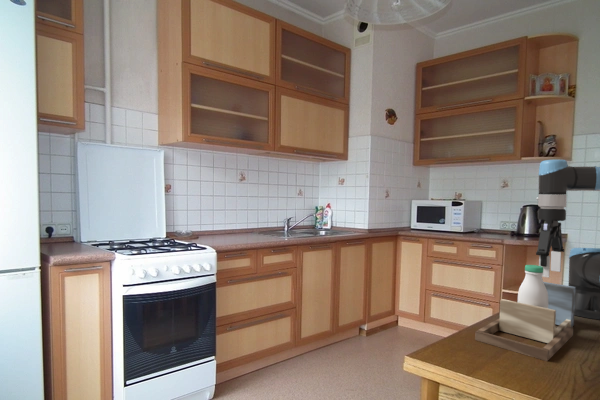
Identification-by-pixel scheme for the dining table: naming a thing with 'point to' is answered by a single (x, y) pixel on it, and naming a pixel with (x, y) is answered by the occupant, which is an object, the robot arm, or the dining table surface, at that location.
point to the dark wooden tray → (533, 351)
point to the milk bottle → (533, 287)
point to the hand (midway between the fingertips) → (550, 273)
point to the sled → (540, 314)
